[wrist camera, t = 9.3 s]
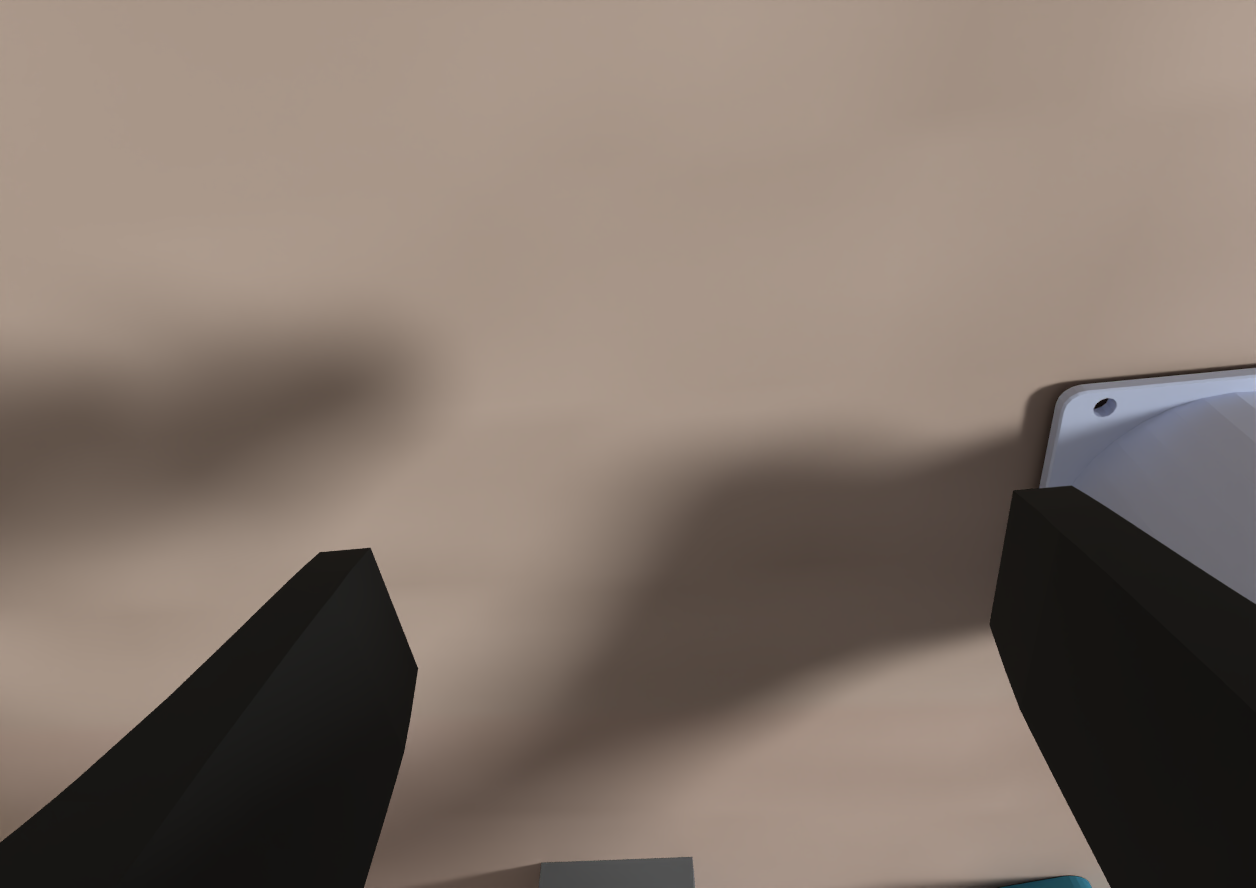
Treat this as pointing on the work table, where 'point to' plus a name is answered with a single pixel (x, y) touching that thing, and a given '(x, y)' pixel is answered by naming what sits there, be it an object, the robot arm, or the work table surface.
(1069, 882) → the block
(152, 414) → the work table surface
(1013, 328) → the work table surface
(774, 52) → the work table surface
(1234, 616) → the robot arm
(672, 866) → the tower base
